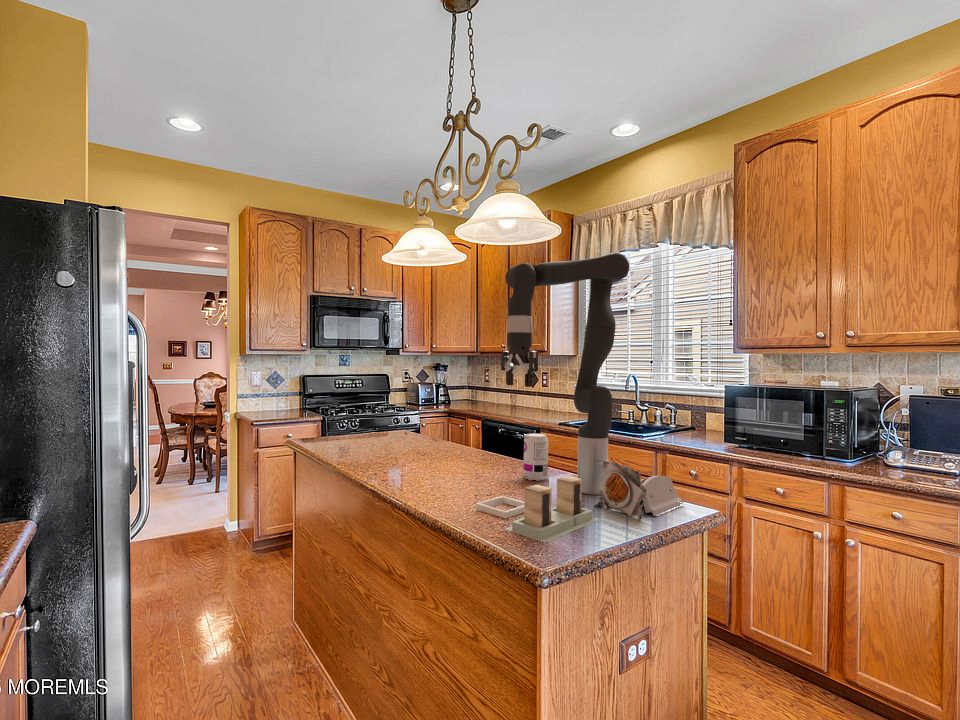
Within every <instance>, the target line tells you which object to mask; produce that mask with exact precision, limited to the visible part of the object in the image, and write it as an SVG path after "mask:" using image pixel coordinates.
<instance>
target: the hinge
mask: <svg viewBox="0 0 960 720" xmlns="http://www.w3.org/2000/svg"><path fill="white" fill-rule="evenodd" d="M641 482H642V484H643V485H644V487H645V488H646V494H645V492H643V493H642V495H644V494H645V498H644V502H645V503H644V505H643V506H642V511H643V510H644V513H645V514H648V513H652V517H653V516H656V515H658V514H660V513H662V512H665V511H667V510H669V509H672V508H674V507H677V506H680V504H682V503H683V504H684V502H683V499H682V498H680V497H679V496H678V494H677V491H676V489H675V486H674V483H673V480H672V479H671V477H669V476H665V475H653V476H648V477H645V478H643V479H641ZM641 489H642V488H641ZM642 490H643V489H642ZM678 501H679V502H678ZM680 502H682V503H680ZM642 504H643V500H641V502H640V505H642Z"/></svg>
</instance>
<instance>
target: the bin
mask: <svg viewBox="0 0 960 720" xmlns="http://www.w3.org/2000/svg"><path fill="white" fill-rule="evenodd" d="M524 502H525V501H523V500H518V499H515V498H511V497H508V496H505V495H500V496H497V497H493V498H489V499H487V500H486V499H485V500H483V501H479V502H476V503H475V512H483V513H487V514H489V515H493V516H495V517H500V518H503V519H508V518H512V517H513V516H514V517H515V516H517V515H520V514H524ZM503 504H505V505H510V506H514V508H510V509H507V510H503V509H500V508H496V506H499V505H503Z"/></svg>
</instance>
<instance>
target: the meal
mask: <svg viewBox="0 0 960 720" xmlns="http://www.w3.org/2000/svg"><path fill="white" fill-rule="evenodd" d="M597 462H598V464H599V465H600V466H601V469H602V470H603V472H604V476H603V477H602V481H601V483H600V486H599V489H600V490H601V491H600V495H601V496H600V497H598V499H599V500H598V501H597V503H596V504H595V505H593V508H601V509H606V510H614V511H618V512H620V513H622V512H624V513H623V514H626V513H627V516H629V517H630V516H633V517H635V516H636V518H637V520H638V521H639V520H640V521H641V520H642V518H643V516H644V513H645V512H644V510H643V511H642V506H643V505H644V503H645V502H644V498H645V494H646V488H645V487H644V485H643V484H642V482H641V480H642V479H641V478H642V475H641V472H640V471H638V470H637V471H636V470H635V469H632V468H631V467H630V466H627V465H623V464H619V463H617V462H613V461H610V462H606V461H601V460H599V461H598V460H597ZM641 488H642V489H643V490H642V489H641ZM643 492H645V494H644V495H642V493H643ZM641 500H643V504H642V505H640V502H641Z"/></svg>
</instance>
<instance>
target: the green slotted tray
mask: <svg viewBox="0 0 960 720" xmlns="http://www.w3.org/2000/svg"><path fill="white" fill-rule="evenodd" d="M556 508H557V505H556V506H553V507H551V525H548V526H546V527H543V528H537V527H534V526H530V525H527V524H524V517H521V518H519V519H516V520H513V521H512V522H511V526H509V527H507V528H504V530H506V531H509V532H512V533H514V534H518V535H521V536H524V537H526V538H529V539H533V540H535V541H539V542H541V543H545V544H546V543H548V542H550V541H553V540H555V539H557V538H561V537H562V536H564V535H566V534H567V535H568V534H569V533H572V532H574V531H577V530H579V529H581V528H584V527H586V526H588V525H591V524H593V523H596V522H598V521H601V518H596V517H593V515H594V511H593V510H592V509H588V508H586V507H585V508H583V507H581V513H579V514H577V515H574V516H571V515H567V514H563V513H560V512H556Z"/></svg>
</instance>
